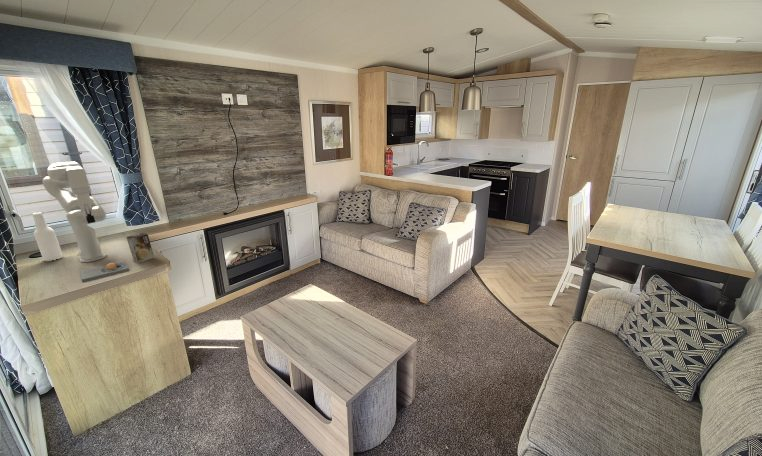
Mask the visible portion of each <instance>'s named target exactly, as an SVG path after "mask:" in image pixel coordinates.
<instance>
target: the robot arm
mask: <svg viewBox="0 0 762 456" xmlns="http://www.w3.org/2000/svg"><path fill="white" fill-rule="evenodd" d="M46 173H47V176H45V177H44V178H43V179H42V185H43V187H44V189H45V190H46V192H47V193H48V194H49V195H50V196H51V197H53V198H55V199H56V200H57V202H58V203H59V204H60V206H61V207H62V208H63V211H65V212H66V219H67V222H68V223H69V225H70V227H71V229H72V232H73V234H74V238H75V240H76V243H77V246H78V248H79V249H78V250H79V252H78V253H77V256H78V257H79V256H80V258H79V262H81V263H90V262H96V261H98V260H102V259H104V258H105V257H107V254H106V253H105V252H103V251H102V248H101V245H100V242H99V239H98V235H97V232H96V230H95V229H94V228H93V227H92V226H90V224H96V223H101V222H104V221H105V220H106V218H107V214H106V212H105V210H104V208H103V207H102V206H101V204H100V203H99V201H98V200H97V199H96V198H95V197H93V196H91V195H90V194H91V193H92V190H91V187H90V183H89V180H88V176H87V172H86V169H84V168H83V167H82V166H81V164H80V163H79V162H76V161H65V162H56V163H52V164H50V165H49V166H48V168H47V170H46ZM69 188H71V191H70V190H68V189H69Z"/></svg>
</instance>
